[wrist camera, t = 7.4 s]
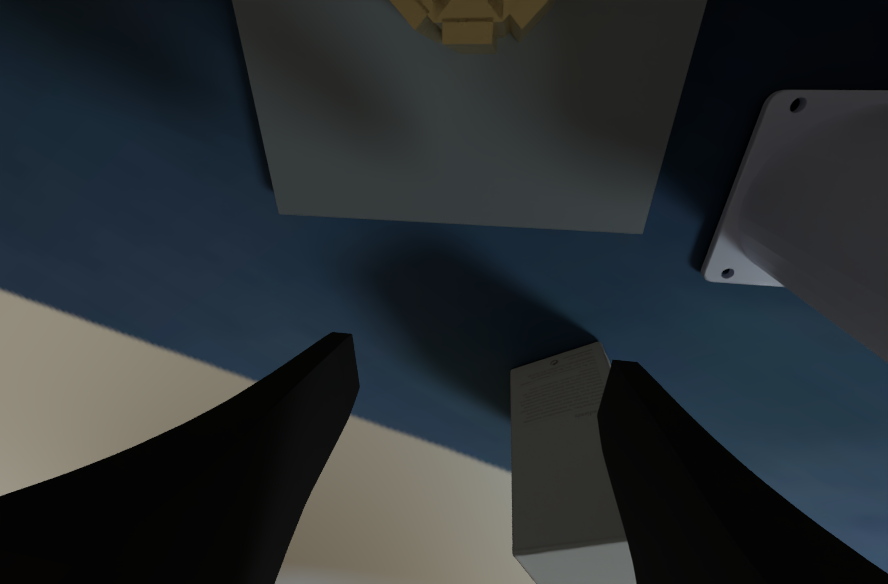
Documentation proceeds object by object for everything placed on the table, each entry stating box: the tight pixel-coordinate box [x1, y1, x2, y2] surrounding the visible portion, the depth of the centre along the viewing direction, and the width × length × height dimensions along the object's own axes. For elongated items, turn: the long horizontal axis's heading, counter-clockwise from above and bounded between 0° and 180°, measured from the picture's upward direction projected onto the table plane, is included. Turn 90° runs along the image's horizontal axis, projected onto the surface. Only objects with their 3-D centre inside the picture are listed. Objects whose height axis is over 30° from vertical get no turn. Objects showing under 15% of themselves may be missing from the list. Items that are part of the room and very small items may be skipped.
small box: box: [510, 342, 637, 584], centre depth 19 cm, size 8×6×10 cm
